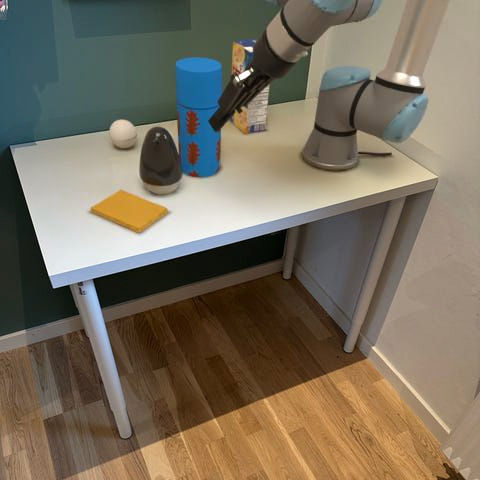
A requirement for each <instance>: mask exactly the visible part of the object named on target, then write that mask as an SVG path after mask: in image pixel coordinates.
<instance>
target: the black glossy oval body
mask: <svg viewBox="0 0 480 480" xmlns="http://www.w3.org/2000/svg"><path fill="white" fill-rule="evenodd" d="M141 145H142V146H141V150H140V156H139V166H138V167H139V168H138V173H139V174H138V175H139V178H140V180H141V182H142V184H143V186H144V187H145V188H146V189H147V190H148V191H149V192H151V193H153V194H158V195H168V194H170V193H172V192H174V191H176V189H177V188H178V187H179V185H180V184H181V180H182V179H183V172H182V166H181V161H180V157H179V150H178V148H177V145H176V143H175V140H174V139H173V136H172V134H171V133H170V132H169V130H167V129H166V128H165V127H163V126H160V125H159V126H153V127H151V128H149V130H148V131H147V132H146V134H145V136H144V138H143V141H142V144H141Z"/></svg>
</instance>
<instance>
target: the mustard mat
mask: <svg viewBox="0 0 480 480" xmlns="http://www.w3.org/2000/svg"><path fill="white" fill-rule="evenodd" d="M90 212H91V213H92V214H94V215H97V216H99V217H101V218H104V219H106V220H108V221H111V222H113V223H115V224H118V225H119V226H122V227H125V228H126V229H129V230H132V231H134V232H136V233H138V234H140V233H142V232H143V231H144V230H146V229H147V228H149V227H150V226H151V225H153V224H154V223H156V222H157V221H158V220H160V219H161V218H162V217H164V216H166V215H167V214H168V213H169V210H168V207H165V206H163V205H161V204H158V203H155V202H153V201H150V200H148V199H145V198H143V197H140V196H138V195H135V194H133V193H130V192H128V191H126V190H123V189H119V190H118V191H116V192H114V193H113V194H111V195H109V196H108V197H105V198H104V199H102V200H100V202H98V203H96V204H94V205H92V206H90Z"/></svg>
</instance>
